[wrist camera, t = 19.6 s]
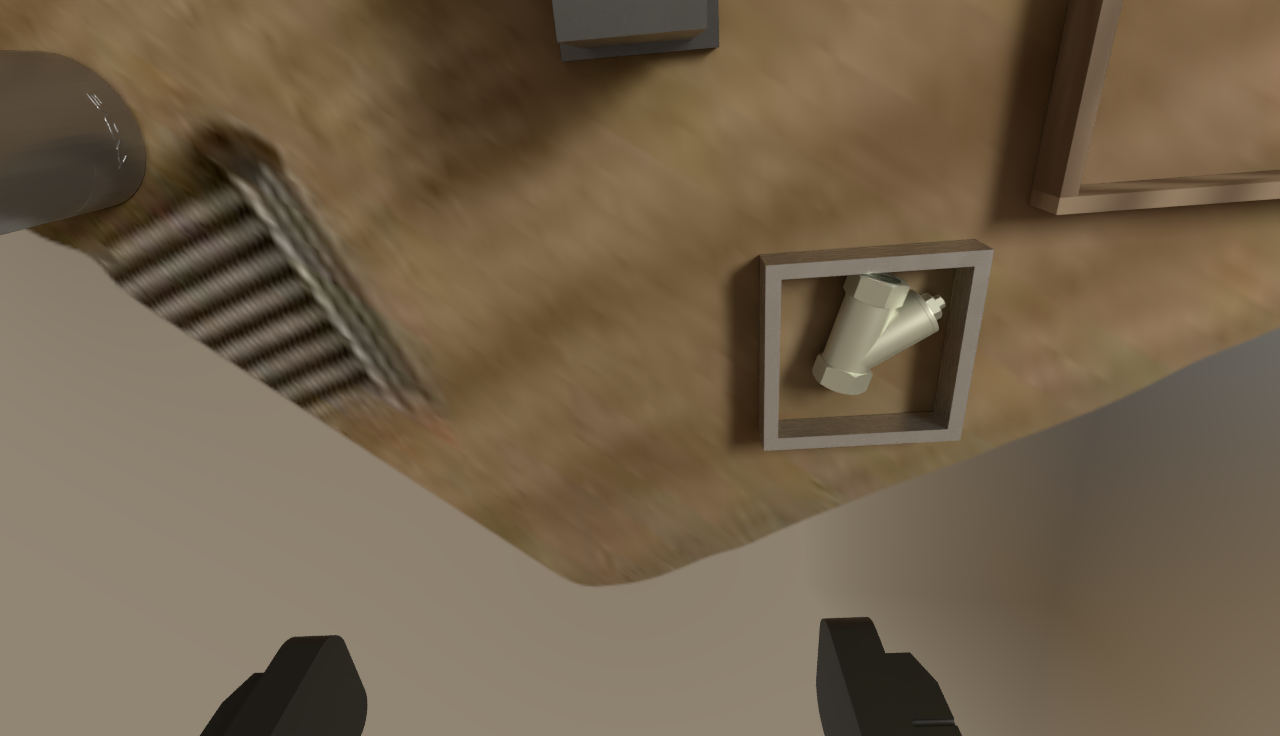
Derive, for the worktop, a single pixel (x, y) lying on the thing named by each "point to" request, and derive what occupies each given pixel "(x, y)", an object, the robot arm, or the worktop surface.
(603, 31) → the box
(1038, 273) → the worktop surface
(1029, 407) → the worktop surface
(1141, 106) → the worktop surface
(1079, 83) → the frame
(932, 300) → the pipe fitting
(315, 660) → the robot arm
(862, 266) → the parts frame
